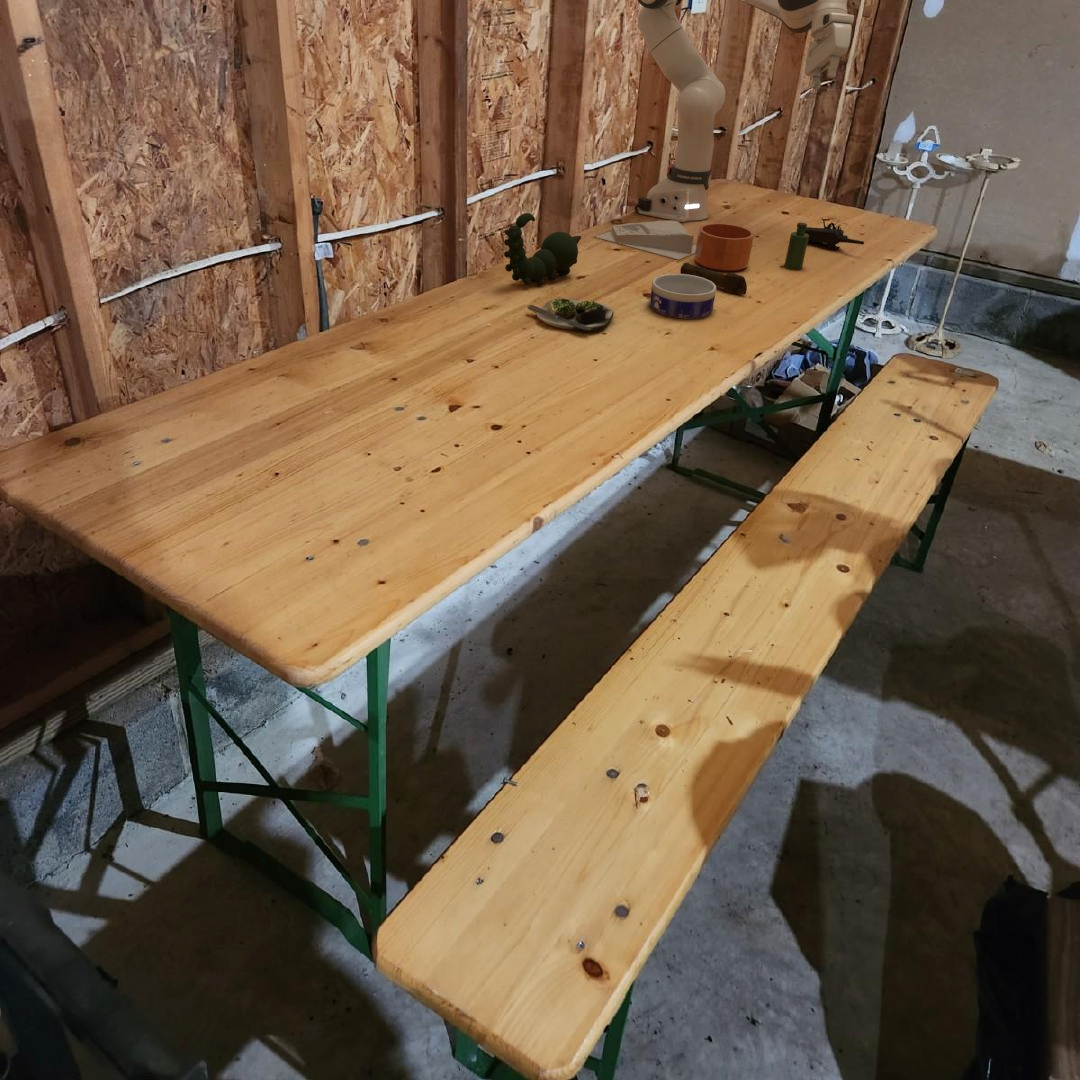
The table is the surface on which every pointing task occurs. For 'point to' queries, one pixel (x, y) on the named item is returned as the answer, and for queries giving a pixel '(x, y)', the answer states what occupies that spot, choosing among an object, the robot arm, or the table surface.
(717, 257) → the pot
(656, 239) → the ramp
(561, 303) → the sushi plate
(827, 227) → the creature
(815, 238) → the walkie-talkie
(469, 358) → the table surface
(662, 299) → the dog bowl
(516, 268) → the toy figurine
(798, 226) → the plant food bottle
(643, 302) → the table surface
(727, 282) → the dark brown rough bar
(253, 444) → the table surface
